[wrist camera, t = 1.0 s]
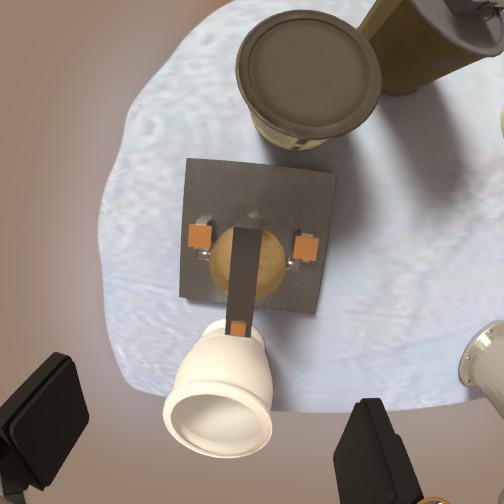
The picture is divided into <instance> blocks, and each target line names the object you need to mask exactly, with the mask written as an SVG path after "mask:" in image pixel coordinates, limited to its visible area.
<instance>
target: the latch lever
mask: <svg viewBox="0 0 504 504" xmlns="http://www.w3.org/2000/svg"><path fill="white" fill-rule="evenodd" d="M263 224H264V219H262V218H253V217H244V216H240V217H239V219H238V220H237V222H236V224H235V225H234V226H232V227H230V228H229V229H227V230H226V231H225V232H224V233H223V234H222V235H221V236H220V238H219V239H218V241H217V242H216V243H215V245H214V247H213V249H206V248H197V249H196V254H195V258H196V259H197V260H206V261H209V268H210V273H211V276H212V278H213V280H214V282H215V284H216V285H217V286H218V288H219V289H220V290H221V291H223V292H224V293H225V294H227V295H228V298H227V310H226V323H225V335H230V336H236V337H244V338H245V337H246V338H250V337H251V329H252V321H253V312H254V303H255V300H259V299H262V298H264V297H266V296H268V295H270V294H271V293H272V292H274V291H275V290H276V289H277V288H278V286H279V285H280V284H281V282H282V280H283V277H284V275H285V270H293V271H301V268H302V259H294V258H285V254H284V249H283V246H282V243H281V241H280V239H279V238H278V236H277V235H276V234H275V233H274V232H273V231H272V230H271V229H269V228H268V227H266V226H264V225H263Z"/></svg>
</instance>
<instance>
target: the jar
mask: <svg viewBox="0 0 504 504" xmlns="http://www.w3.org/2000/svg"><path fill="white" fill-rule="evenodd" d="M225 323H226V319H222V320H218V321H216V322H214V323H212V324H211V325H210V326H208V327H207V329H206V330H205V331H204V333H203V335H202V338H201V339H200V340H199V341H198V342H197V343H196V344H195V346H194V347H193V348H192V350H191V351H190V352H189V353H188V354H187V356H186V357H185V359H184V360H183V362H182V364H181V366H180V368H179V370H178V372H177V375H176V378H175V382H174V386H173V391H172V392H171V393H170V395H169V396H168V397H167V399H166V401H165V404H164V408H163V419H164V423H165V425H166V427H167V429H168V430H169V432H170V433H171V434H172V435H173V436H174V437H175V438H176V439H177V440H178V441H179V442H180V443H182V444H183V445H185V446H186V447H188V448H190V449H192V450H194V451H196V452H198V453H201V454H205V455H208V456H212V457H219V458H237V457H243V456H247V455H250V454H253V453H255V452H256V451H258V450H260V449H261V448H263V447H264V446H265V445H266V444H267V443H268V441H269V439H270V438H271V435H272V418H271V415H270V410H271V406H272V399H273V383H272V376H271V372H270V368H269V365H268V360H267V357H266V354H265V344H264V340H263V338H262V336H261V334H260V333H259V332H258V330H257V329H256V328H254V327H253V326H252V329H251V337H250V338H246V337H245V338H244V337H236V336H230V335H225Z"/></svg>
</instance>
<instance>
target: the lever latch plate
mask: <svg viewBox="0 0 504 504" xmlns="http://www.w3.org/2000/svg"><path fill="white" fill-rule="evenodd" d="M336 175H337V174H334V173H327V172H321V171H314V170H306V169H299V168H291V167H283V166H275V165H266V164H256V163H246V162H235V161H223V160H209V159H194V158H187V161H186V172H185V185H184V198H183V214H182V231H181V254H180V287H179V297H183V298H190V299H197V300H204V301H212V302H219V303H227V298H228V295H227V294H225V293H224V292H223V291H221V290H220V289H219V288H218V286H217V285H216V284H215V282H214V280H213V278H212V276H211V273H210V268H209V261H206V260H197V259H196V258H195V254H196V249H197V248H206V249H213V247H214V245H215V243H216V242H217V241H218V239H219V238H220V236H221V235H222V234H223V233H224V232H225V231H226V230H227V229H229V228H230V227H232V226H234V225H235V224H236V222H237V220H238V219H239V217H240V216H244V217H253V218H262V219H264V224H263V225H264V226H266V227H268V228H269V229H271V230H272V231H273V232H274V233H275V234H276V235H277V236H278V238H279V239H280V241H281V243H282V246H283V249H284V254H285V258H294V259H302V268H301V271H293V270H285V275H284V277H283V280H282V282H281V284H280V285H279V286H278V288H277V289H276V290H275V291H274V292H272V293H271V294H270V295H268V296H266V297H264V298H262V299H259V300H255V303H254V307H261V308H270V309H280V310H290V311H300V312H311V313H315V307H316V302H317V297H318V292H319V286H320V281H321V275H322V270H323V264H324V258H325V252H326V246H327V240H328V233H329V227H330V220H331V213H332V206H333V199H334V191H335V183H336Z"/></svg>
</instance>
